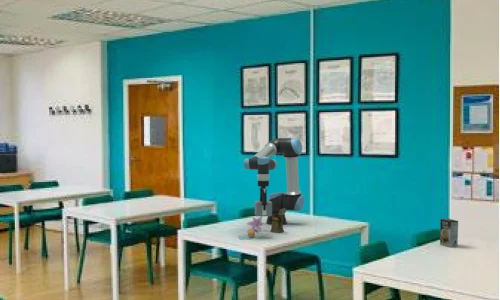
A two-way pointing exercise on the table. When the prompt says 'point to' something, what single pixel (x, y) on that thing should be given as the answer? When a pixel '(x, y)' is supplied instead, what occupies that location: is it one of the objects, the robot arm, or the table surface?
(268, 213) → the matte grey cube
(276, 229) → the wooden mug
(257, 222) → the lily
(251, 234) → the ball
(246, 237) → the tape square
